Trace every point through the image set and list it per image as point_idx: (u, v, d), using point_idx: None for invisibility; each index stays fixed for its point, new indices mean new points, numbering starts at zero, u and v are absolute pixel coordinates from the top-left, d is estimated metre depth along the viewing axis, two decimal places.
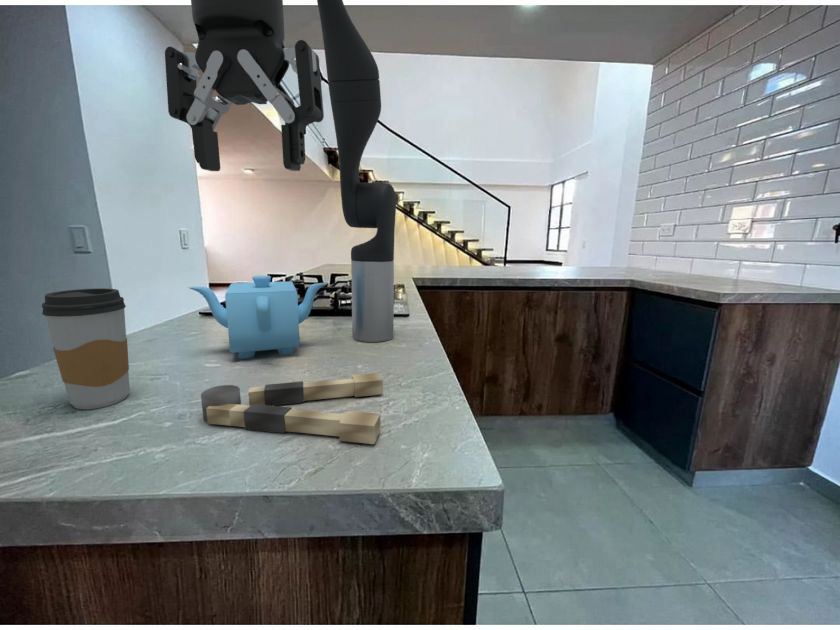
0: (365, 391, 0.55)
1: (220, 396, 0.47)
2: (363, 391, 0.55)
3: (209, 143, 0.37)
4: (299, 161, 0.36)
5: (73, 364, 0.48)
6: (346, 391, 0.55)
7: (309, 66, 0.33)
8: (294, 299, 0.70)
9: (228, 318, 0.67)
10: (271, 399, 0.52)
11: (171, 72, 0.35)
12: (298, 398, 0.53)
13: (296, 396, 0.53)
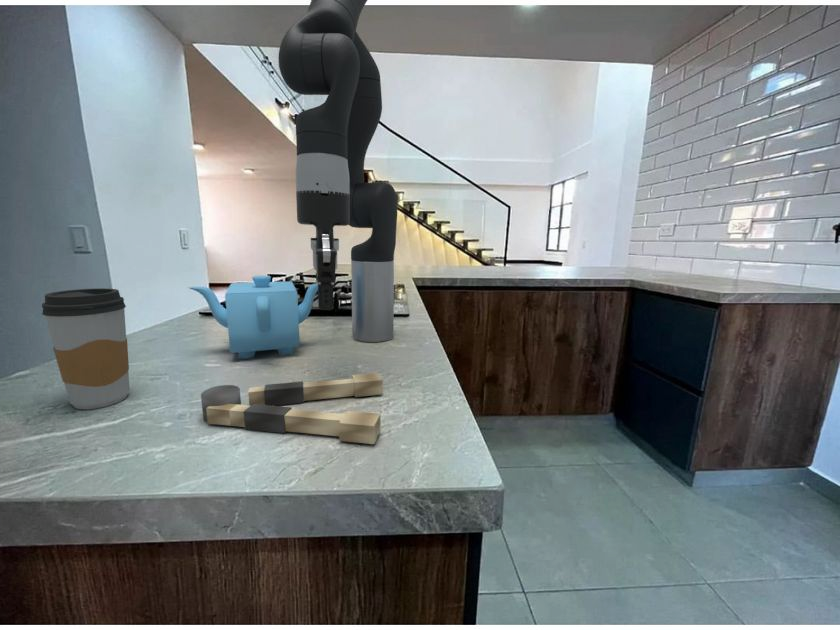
0: (365, 391, 0.55)
1: (220, 396, 0.47)
2: (363, 391, 0.55)
3: None
4: None
5: (73, 364, 0.48)
6: (346, 391, 0.55)
7: None
8: (294, 299, 0.70)
9: (228, 318, 0.67)
10: (271, 399, 0.52)
11: None
12: (298, 398, 0.53)
13: (296, 396, 0.53)
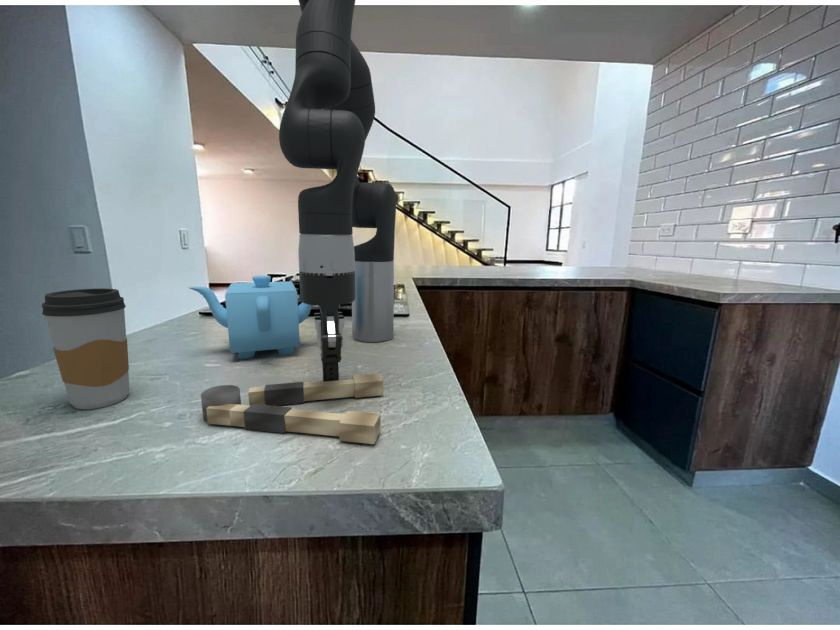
0: (365, 392, 0.55)
1: (220, 396, 0.47)
2: (363, 392, 0.55)
3: None
4: None
5: (73, 364, 0.48)
6: (346, 392, 0.54)
7: None
8: (294, 299, 0.70)
9: (228, 318, 0.67)
10: (271, 399, 0.52)
11: None
12: (298, 398, 0.53)
13: (296, 396, 0.52)
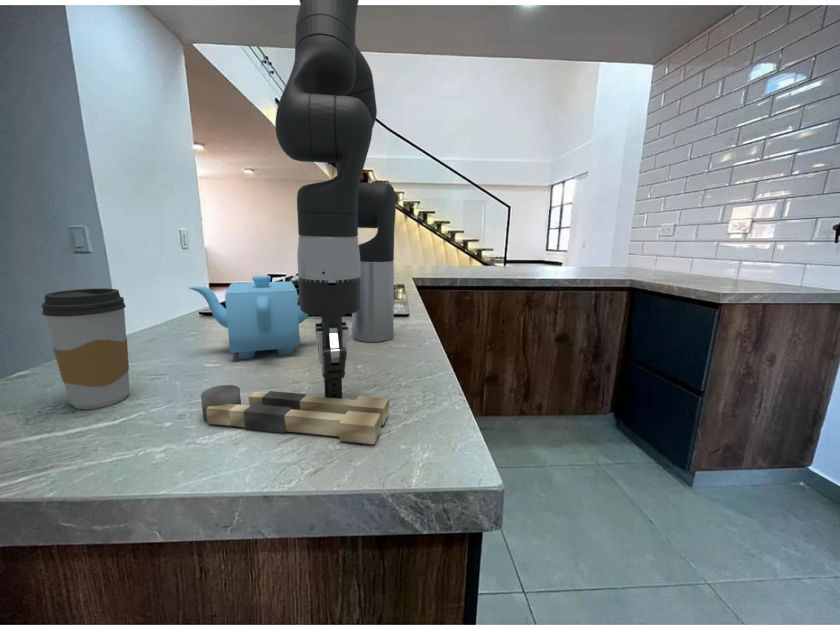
0: None
1: (220, 396, 0.47)
2: None
3: None
4: None
5: (73, 364, 0.48)
6: (344, 413, 0.48)
7: None
8: (294, 299, 0.70)
9: (228, 318, 0.67)
10: None
11: None
12: None
13: None
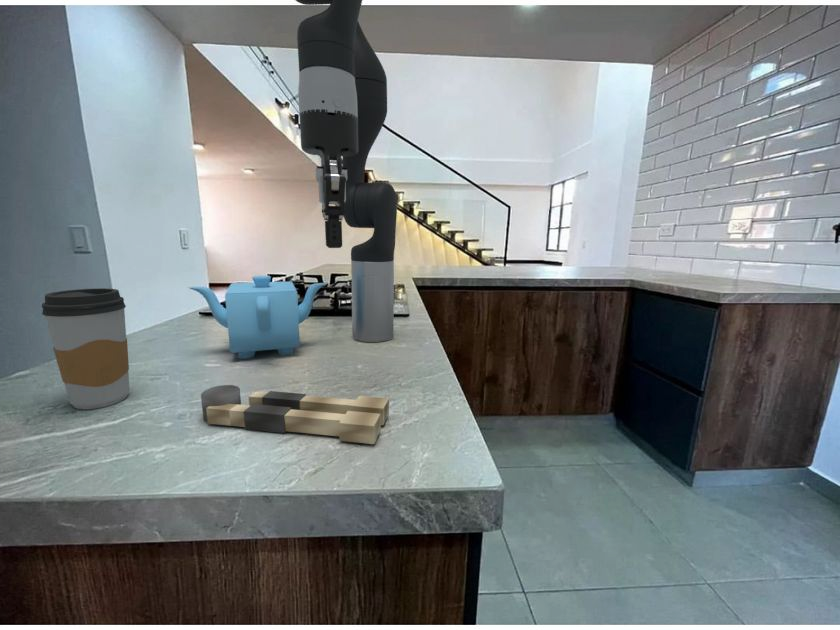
0: None
1: (220, 396, 0.47)
2: None
3: None
4: None
5: (73, 364, 0.48)
6: (344, 413, 0.48)
7: None
8: (294, 299, 0.70)
9: (228, 318, 0.67)
10: None
11: None
12: None
13: None
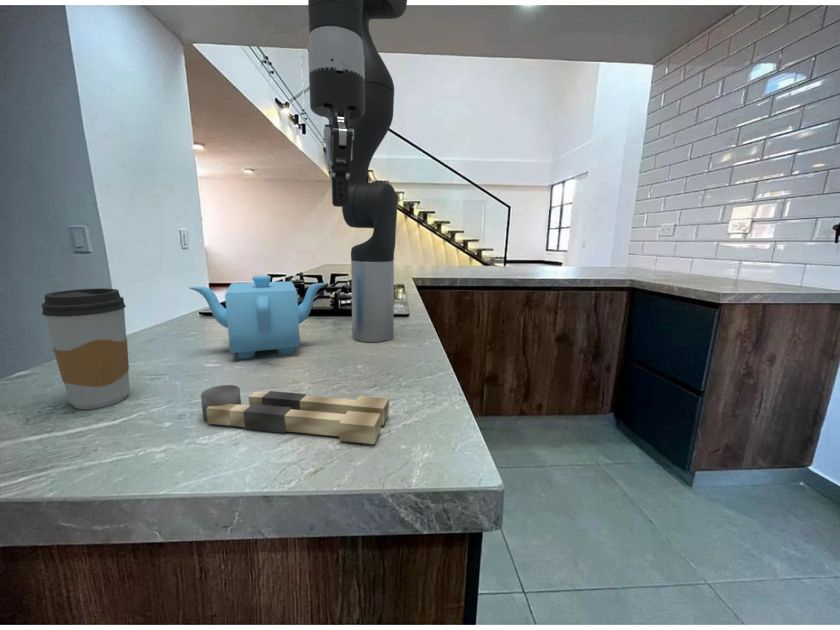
0: None
1: (220, 396, 0.47)
2: None
3: None
4: None
5: (73, 364, 0.48)
6: (344, 413, 0.48)
7: None
8: (294, 299, 0.70)
9: (228, 318, 0.67)
10: None
11: None
12: None
13: None
